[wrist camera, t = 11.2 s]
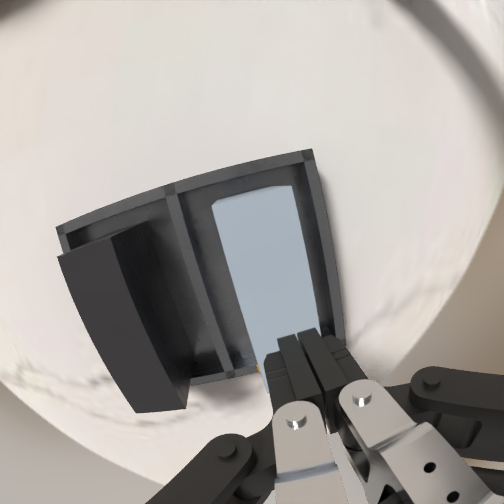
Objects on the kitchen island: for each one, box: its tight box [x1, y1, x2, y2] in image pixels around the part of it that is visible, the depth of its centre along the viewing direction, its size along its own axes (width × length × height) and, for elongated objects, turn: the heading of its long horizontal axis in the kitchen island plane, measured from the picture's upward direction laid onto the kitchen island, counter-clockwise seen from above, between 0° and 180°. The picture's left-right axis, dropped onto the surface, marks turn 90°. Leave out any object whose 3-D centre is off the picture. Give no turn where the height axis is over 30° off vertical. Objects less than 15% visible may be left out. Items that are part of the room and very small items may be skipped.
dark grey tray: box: [56, 149, 346, 413], centre depth 18 cm, size 20×16×8 cm
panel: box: [212, 186, 321, 393], centre depth 18 cm, size 4×12×7 cm, turn 14°
